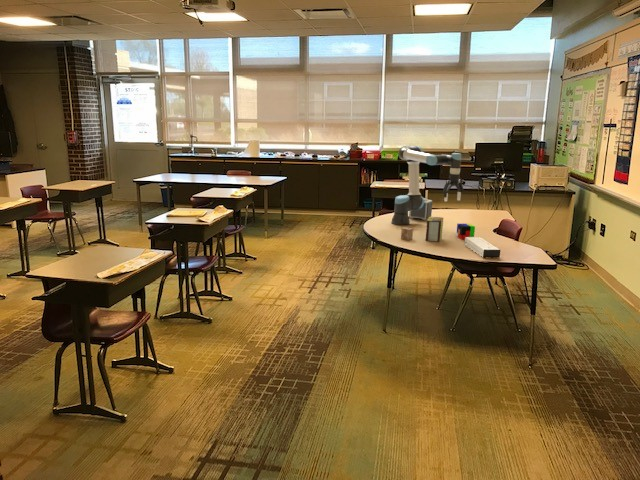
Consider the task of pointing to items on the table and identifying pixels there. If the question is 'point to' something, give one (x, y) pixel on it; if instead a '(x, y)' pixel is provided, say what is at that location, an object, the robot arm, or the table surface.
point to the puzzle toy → (465, 230)
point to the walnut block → (406, 233)
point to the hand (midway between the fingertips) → (452, 200)
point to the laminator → (482, 247)
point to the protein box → (434, 229)
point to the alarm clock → (422, 211)
